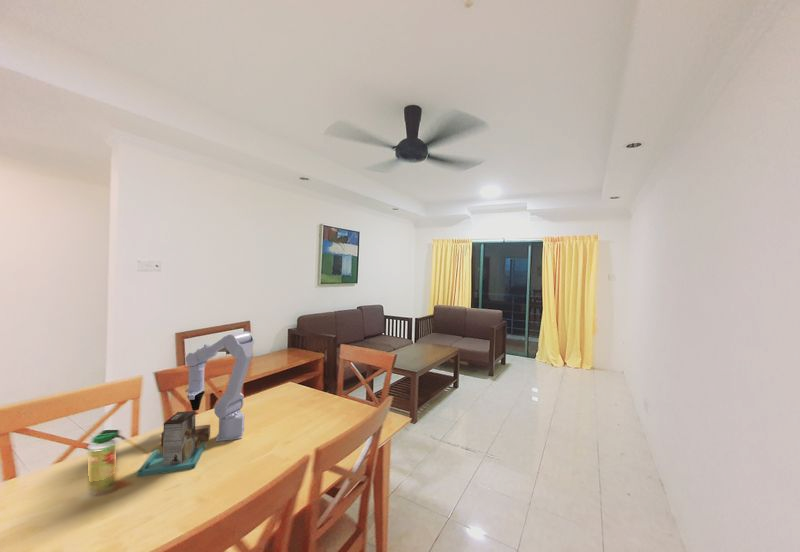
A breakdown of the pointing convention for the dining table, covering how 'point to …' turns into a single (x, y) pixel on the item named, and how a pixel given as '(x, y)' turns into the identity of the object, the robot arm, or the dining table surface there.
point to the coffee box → (179, 438)
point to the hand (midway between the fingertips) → (195, 409)
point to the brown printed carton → (197, 434)
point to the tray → (156, 465)
